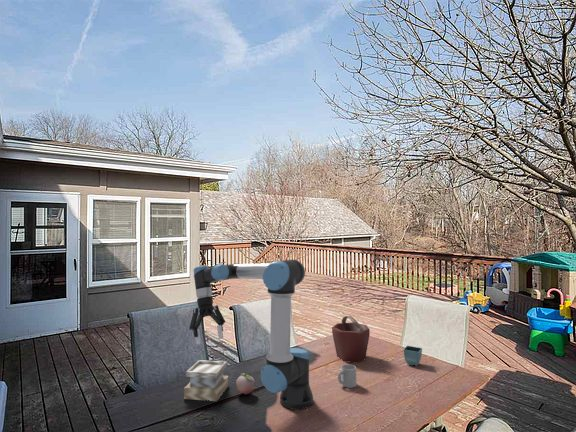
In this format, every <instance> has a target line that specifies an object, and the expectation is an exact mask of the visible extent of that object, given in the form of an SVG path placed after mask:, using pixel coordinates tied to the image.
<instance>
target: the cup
mask: <svg viewBox="0 0 576 432" xmlns="http://www.w3.org/2000/svg"><path fill="white" fill-rule="evenodd" d="M337 381H338V383H339V384H340V385H342V386H343V387H344V388H347V389H353V387H354V388H356V386H357V367H356V366H355V365H354V364H349V363H347V364H343V365H341V370H339V371H338V373H337Z"/></svg>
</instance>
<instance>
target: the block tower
mask: <svg viewBox="0 0 576 432" xmlns="http://www.w3.org/2000/svg"><path fill="white" fill-rule="evenodd" d="M227 366H228V361H226V360H225V361H224V360H223V361H222V360H220V361H219V360H204V359H203V360H201V359H198V360H197V361H196V362H195V363H193V365H192V366H191V367H189V368H188V369H187V370H186V371H185V377H187V378H188V377H189V383H187V385H186V386H184V387H183V399H184V400H194V401H195V400H196V401H206V400H207V401H208V400H209V401H208V402H218V401H219V399H220V398H221V397H220V396H222V395H223V394H224V393H225V392H226V390H227V388H228V387H229V375H224V370H225V369H226V368H227ZM223 392H224V393H223ZM217 400H218V401H217Z"/></svg>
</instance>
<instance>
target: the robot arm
mask: <svg viewBox="0 0 576 432" xmlns="http://www.w3.org/2000/svg"><path fill="white" fill-rule="evenodd" d="M305 276H306V269H305V267H304V264H303V263H301V261H299V260H298V259H285V260H284V259H283V260H276V261H273V262H270V263H231V264H230V263H229V264H224V263H220V264H216V265H214V266H211V267H210V266H208V265H200V266H195V267H194V268H193V279H194V284H195V285H194V287H195V295H196V298H197V299H196V302H197V306H198V307H196V308H193V310H192V317H191V321H190V324H189V327H188V328H189V330H191V331H193V337H194V338H195V345H197V346H198V345H201V344H202V339H201V332H200V330H201V329H199V327H200V325H201V323H202V321H203V319H204V318H205V317H210V318H211V319H212V320H214V322H215V323H216V325H217V326H216V329H217V336H218V337H217V338H218V340H223V339H224V333H223V332H224V327H223V325H224V324H225V323H226V320H225V318H224V316H223V314H222V313H221V310H220V308H219V305H218V304H216V305H214V300H213V296H212V295H213V292H212V291H213V290H212V285H211V284H212V283H215V282H220V281H227V280H234V279H239V280H240V279H242V280H243V279H245V280H246V279H247V280H262V281H263V284H264V286H265V287H266V288H267V294H268V295H270V330H269V331H270V332H269V333H270V334H269V335H270V337H269V340H270V341H269V353H267V354H266V356H265V363H266V364H265V365H264V366H263V367H262V368H261V370H260V380H261V383H262V385H263V387H265V389H266V390H267V391H269V392H271V393H273V394H278V393H280V394H279V395H280V396H279V404H280V405H281V406H283V407H284V408H287V409H289V410H302V409H307V408H309V407H311V406H312V405H313V403H314V396H313V392H312V389H311V385H310V356H309V351H307V350H306V349H303V348H298V347H291V322H292V321H291V319H292V318H291V317H292V316H291V314H292V312H291V311H292V297H293V295H295V292H296V290H295V289H296V286H298V285H299V284H300V283H301V282H303V280H304V279H305Z"/></svg>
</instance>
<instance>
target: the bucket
mask: <svg viewBox="0 0 576 432" xmlns="http://www.w3.org/2000/svg"><path fill="white" fill-rule="evenodd" d="M348 319H349V320H350V321H351V322H347V320H348ZM331 327H332V328H331V333H332V338H333V343H334V344H333V345H334V349H335V354H336V358H337V357H339V358H340V359H339V358H338V359H339V360H341V359H342V360H343V362H344V361H350V362H349V363H355V362H357V363H360V362H363V361H365V360H366V356H367V351H368V346H369V341H370V335H371V334H370V330H371V329H370V327H368V326H367V324H362V323H359V322H358V321H357V319H356V318H354V317H353V316H351V315H344V316H343V317H342V319H341V322H339V323H336V324H335V325H333V326H331ZM364 359H365V360H364ZM342 360H341V361H342ZM362 360H363V361H362ZM359 361H360V362H359Z"/></svg>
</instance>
